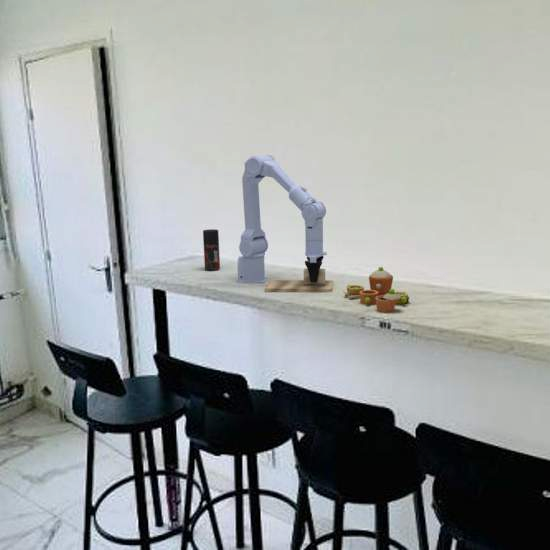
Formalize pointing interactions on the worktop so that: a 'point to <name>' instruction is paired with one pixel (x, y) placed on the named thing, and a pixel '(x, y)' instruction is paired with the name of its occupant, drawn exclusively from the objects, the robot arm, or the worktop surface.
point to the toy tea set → (378, 292)
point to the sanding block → (320, 278)
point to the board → (296, 286)
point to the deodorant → (211, 249)
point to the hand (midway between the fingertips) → (314, 279)
